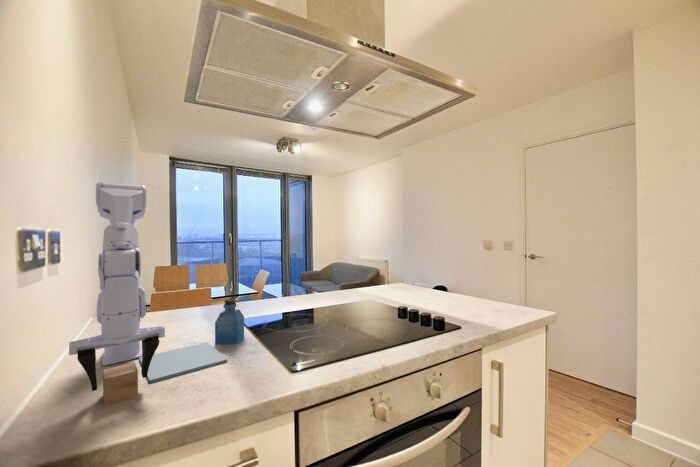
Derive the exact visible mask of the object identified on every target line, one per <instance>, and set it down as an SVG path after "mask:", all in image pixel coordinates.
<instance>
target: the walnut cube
mask: <svg viewBox="0 0 700 467" xmlns="http://www.w3.org/2000/svg"><path fill="white" fill-rule="evenodd" d="M102 374H103V375H102V379H103V380H102V383H103V384H102V387H103V388H102V396H103V398H102V399H103V404H104V407H106V406H110V405H114V404H116V403H120V402H124V401H126V400H130V399H134V398H137V397H138V396H139V371H138V368H137V365H136V362H131V363H127V364H122V365H118V366H114V367H113V366H112V367H110V368H105V369H103V371H102Z"/></svg>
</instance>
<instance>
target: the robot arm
mask: <svg viewBox="0 0 700 467" xmlns="http://www.w3.org/2000/svg"><path fill="white" fill-rule="evenodd" d="M95 202H96V207H97V213H99V217H101V218H104V219H107V220H109V221H108V222H109V223H110V224H108V225H106V227H105V229H104V230H103V237H102V238H103V240H102V253H101V252H100V253H99V254H98V258H97V275H98V278H99V288H100V289H99V290H100V291H99V293H98V296H97V301H96V302H97V303H96V321H97V323H99V324H101V326H100V327H101V329H100V330H101V332H100V333H101V334H99V335H94V336H92V337H87V338H83V339H77V340H73V341H70V342H69V344H68V356H74V355H77V356H76V357H77V359H76V360H77V362H79V364H80V365H81V367H82V368H83V369H84V372H85V373H86V375H87V377H88V379H89V382H90V386H91V392H95V391H98V380H97V379H98V378H97V371H96V369H97V368H96V367H97V366H96V364H97V363H96V362H97V356H96V353H97V352H96V350H98V349H99V350H100V349H103V351H104V352H101V362H102V366H109V365H113V364H117V363H122V362H126V361H131V360H135V359H139V357H142V365H141V370H140V371H141V376H142V378H143V379H144V378H147V374H148V369H149V365H150V362H151V360H152V357H153V355H154V354H156V351H157V349H158V347H159V345H160V338H165V337H166V335H165V334H166V331H165V330H166V329H165V328H166V327H164V325H159V326H151V327H141V328H140V322H141V319H144V318H145V316H146V314H147V306H146V305H147V304H146V303H147V301H146V291H145V289H144V287H143V286H141V285H140V284H139V278H140V277H141V274H142V254H141V250H140V246H139V240H138V239H139V237H138V236H139V235H138V229H137V228H136V226H134V224H135V223H136V221H137V220H139V219H143V218H144V216H145V215H146V208H147V187H146V186H145V185H144V184H139V185H138V184H136V185H135V184H127V183H126V184H125V183H124V184H123V183H112V182H111V183H110V182H103V181H98V182H97V183H96V185H95ZM136 272H137V273H138V276H136ZM140 343H141V344H140ZM140 345H141V347H140Z"/></svg>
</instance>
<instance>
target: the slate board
mask: <svg viewBox="0 0 700 467" xmlns="http://www.w3.org/2000/svg"><path fill="white" fill-rule="evenodd" d="M138 359H139V362H140V364H141V366H142V357H139V358H138ZM224 363H228V358H227V357H226V356H224V355H223V353H221V352H220V351H219V350H217V349H216V348H215V347H214V346H213V345H212V344H211V343H209V341H208V342H207V341H206V342H202V343H198V344H193V345H188V346H184V347H180V348H176V349H171V350H167V351H162V352H157V353H154V355H153V357H152V360H151V362H150V365H149V369H148V374H147V377H146V378H147V380H148V382H149V384H152V383H155V382H158V381H163V380H166V379H170V378H175V377H177V376H180V375H184V374H188V373H191V372H195V371H199V370H202V369H205V368H209V367H213V366H216V365H221V364H224Z"/></svg>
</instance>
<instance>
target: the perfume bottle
mask: <svg viewBox="0 0 700 467" xmlns="http://www.w3.org/2000/svg"><path fill="white" fill-rule="evenodd" d="M236 300H237V299H236V298H226V299H224V300H223V301H224V304H223V309H224V310H223V311H221V312H220V313H219V315H218V317H217V319H216V320H215V321H214V322H215V323H214V344H215V345H238V344H239V342H241V340H243V338H244V337H245V316H244V314H243V313H242V312H241V310H240V309H239V308H237V302H236Z"/></svg>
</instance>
